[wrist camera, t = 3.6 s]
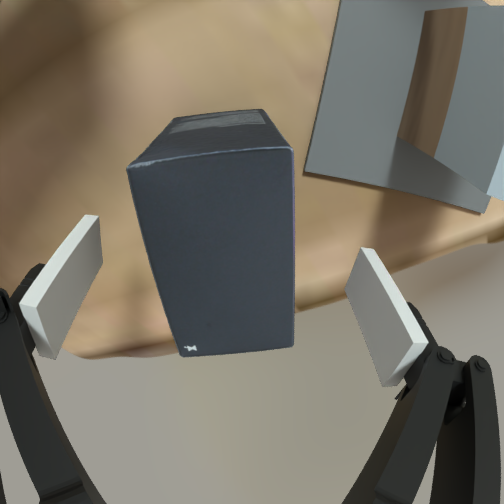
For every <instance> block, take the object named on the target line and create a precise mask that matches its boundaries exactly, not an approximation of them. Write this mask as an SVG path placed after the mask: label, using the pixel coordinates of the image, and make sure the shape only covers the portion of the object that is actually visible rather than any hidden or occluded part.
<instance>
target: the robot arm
mask: <svg viewBox="0 0 504 504" xmlns="http://www.w3.org/2000/svg"><path fill="white" fill-rule="evenodd" d="M102 264H103V258H102V248H101V237H100V224H99V216H94V215H85V216H84V217H83V218H82V219H81V220H80V221H79V223H78V224H77V225H76V226H75V228H74V229H73V230H72V231H71V233H70V234H69V235H68V236H67V238H66V239H65V240H64V241H63V243H62V244H61V245H60V247H59V248H58V249H57V250H56V252H55V253H54V254H53V256H52V257H51V258H50V260H49V261H48V262H47V264H40V263H39V264H38V265H36V266H35V267H33V268H32V269H31V270H30V271H29V272H28V274H27V275H26V276H25V279H23V280H22V282H21V283H20V285H19V286H18V287H17V289H16V290H15V292H14V293H13V294H12V296H11V297H10V299H9V296H8V293H7V292H6V291H5V290H4V289H2V288H0V395H1V398H2V402H3V405H4V409H5V412H6V415H7V418H8V422H9V425H10V427H11V430H12V433H13V436H14V439H15V441H16V444H17V447H18V449H19V452H20V454H21V457H22V459H23V462H24V464H25V466H26V469H27V471H28V473H29V475H30V478H31V480H32V482H33V484H34V486H35V488H36V490H37V492H38V495H39V497H40V502H39V504H106V502H105V501H104V500H103V498H102V497H101V495H100V494H99V492H98V490H97V489H96V487H95V486H94V484H93V482H92V481H91V479H90V478H89V476H88V474H87V473H86V471H85V469H84V468H83V466H82V464H81V462H80V460H79V458H78V457H77V455H76V453H75V451H74V449H73V447H72V445H71V443H70V442H69V440H68V438H67V436H66V434H65V432H64V430H63V428H62V425H61V423H60V421H59V419H58V417H57V415H56V412H55V410H54V408H53V406H52V404H51V401H50V399H49V397H48V394H47V392H46V389H45V387H44V384H43V382H42V379H41V376H40V374H39V371H38V368H37V366H36V363H35V360H34V357H33V355H32V352H33V350H34V348H35V346H36V348H37V351H38V353H39V355H40V356H43V357H47V358H50V359H54V360H56V358H57V355H58V353H59V350H60V348H61V346H62V344H63V342H64V340H65V337H66V335H67V333H68V331H69V329H70V327H71V324H72V322H73V320H74V318H75V316H76V314H77V312H78V310H79V308H80V306H81V304H82V302H83V300H84V298H85V296H86V294H87V292H88V290H89V288H90V286H91V284H92V282H93V280H94V279H95V277H96V275H97V273H98V271H99V269H100V267H101V266H102ZM344 290H345V292H346V294H347V297H348V299H349V302H350V304H351V306H352V309H353V311H354V314H355V316H356V319H357V321H358V323H359V326H360V329H361V331H362V334H363V336H364V339H365V342H366V344H367V347H368V349H369V352H370V355H371V357H372V360H373V363H374V365H375V368H376V371H377V374H378V376H379V379H380V382H381V384H382V387H390V386H397V385H398V384H399V383H400V381H401V380H402V379H403V377H404V379H405V381H406V383H407V384H406V385H405V386H404V388H403V389H402V390H401V392H400V393H399V394H398V395H397V396H396V398H395V399H396V400H397V399H398V401H397V403H396V405H395V408H394V410H393V412H392V414H391V416H390V418H389V420H388V422H387V424H386V426H385V428H384V430H383V433H382V434H381V436H380V438H379V440H378V442H377V444H376V446H375V448H374V450H373V452H372V454H371V456H370V457H369V459H368V461H367V463H366V464H365V466H364V468H363V470H362V472H361V473H360V475H359V477H358V478H357V480H356V482H355V483H354V485H353V487H352V488H351V490H350V492H349V493H348V495H347V496H346V498H345V499H344V501H343V502H342V504H412V503H413V501H414V498H415V496H416V494H417V491H418V489H419V487H420V484H421V482H422V479H423V477H424V474H425V472H426V469H427V466H428V464H429V461H430V458H431V456H432V453H433V450H434V447H435V444H436V441H437V446H436V458H435V467H434V476H433V483H432V491H431V497H430V503H429V504H500V487H501V463H500V462H501V461H500V438H499V425H498V414H497V406H496V399H495V390H494V384H493V378H492V372H491V368H490V365H489V364H488V362H487V361H486V360H485V359H484V358H482V357H480V356H477V355H474V356H472V357H471V358H470V359H469V360H468V362H467V363H466V362H462V361H458V360H456V359H455V357H454V355H453V354H452V352H451V351H449V350H448V349H447V348H444V347H442V346H438V344H437V343H436V341H435V339H434V337H433V335H432V334H431V332H430V330H429V328H428V327H427V326H426V323H425V321H424V320H423V319H422V316H421V315H420V313H419V311H418V310H417V309H416V308H415V307H414V306H413V305H412V304H411V303H410V302H406V301H405V299H404V298H403V296H402V294H401V293H400V291H399V289H398V288H397V286H396V284H395V283H394V281H393V279H392V278H391V276H390V274H389V273H388V271H387V270H386V268H385V266H384V265H383V263H382V262H381V260H380V258H379V257H378V255H377V254H376V252H375V251H374V249H370V248H363V247H361V248H360V251H359V253H358V256H357V259H356V261H355V264H354V266H353V269H352V271H351V274H350V277H349V279H348V282H347V284H346V286H345V289H344ZM465 402H466V404H465ZM0 504H6V499H5V495H4V490H3V484H2V479H1V473H0Z"/></svg>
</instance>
